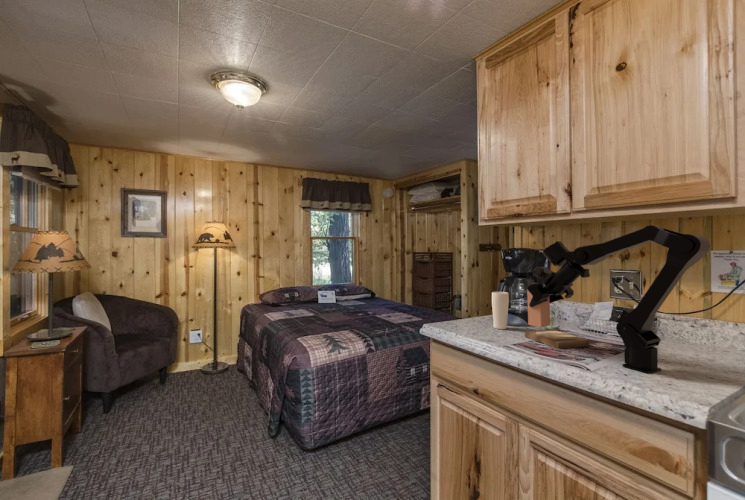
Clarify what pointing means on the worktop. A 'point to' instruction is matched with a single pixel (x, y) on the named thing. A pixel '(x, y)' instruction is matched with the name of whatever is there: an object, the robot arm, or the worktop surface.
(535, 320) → the terracotta tower brick
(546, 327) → the pacifier
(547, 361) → the worktop surface
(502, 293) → the drinking glass
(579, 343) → the wooden board
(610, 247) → the robot arm
